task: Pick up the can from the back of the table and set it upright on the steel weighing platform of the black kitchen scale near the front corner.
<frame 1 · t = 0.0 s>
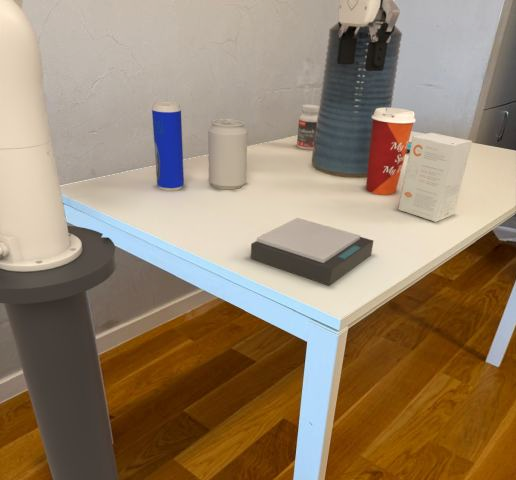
hand: (358, 67, 86), 22 cm above the table, tool pointing down, fingers open, 9 cm apart
beverage can: (170, 188, 99), on the table
small box: (424, 213, 93), on the table
phone stand: (393, 151, 133), on the table
vase: (346, 169, 116), on the table
can: (227, 185, 101), on the table
coffee cup: (380, 191, 103), on the table
scale: (312, 257, 74), on the table
pill bottle: (307, 148, 131), on the table
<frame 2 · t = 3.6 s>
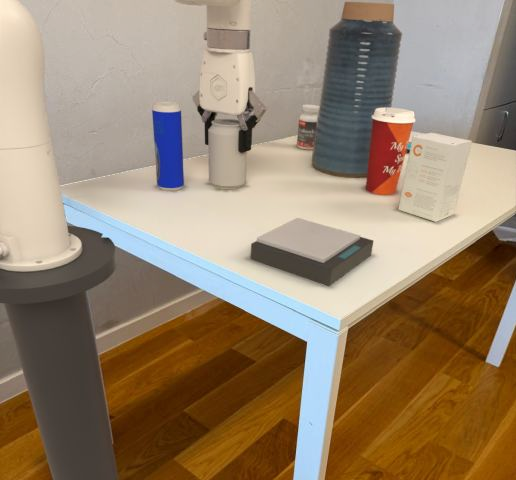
hand: (227, 147, 97), 7 cm above the table, tool pointing down, fingers closed on can, 7 cm apart
can: (227, 185, 101), on the table, touching gripper
everything else where it was.
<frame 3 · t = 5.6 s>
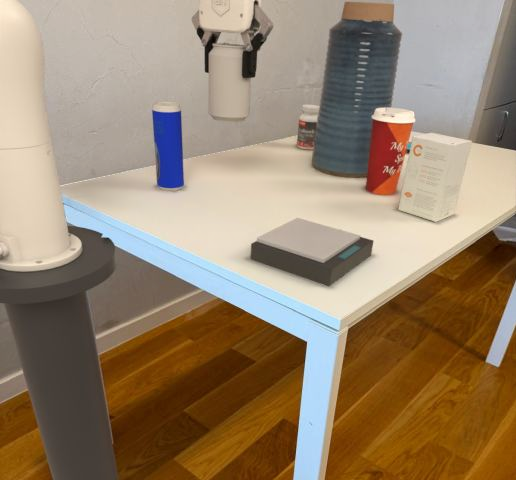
hand: (229, 74, 89), 20 cm above the table, tool pointing down, fingers closed on can, 7 cm apart
can: (228, 120, 93), point 12 cm above the table, touching gripper
everything else where it was.
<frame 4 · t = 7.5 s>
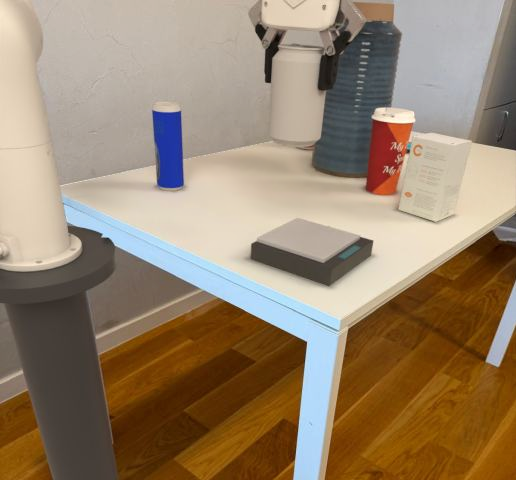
hand: (298, 85, 68), 22 cm above the table, tool pointing down, fingers closed on can, 7 cm apart
can: (293, 143, 72), point 14 cm above the table, touching gripper
everything else where it was.
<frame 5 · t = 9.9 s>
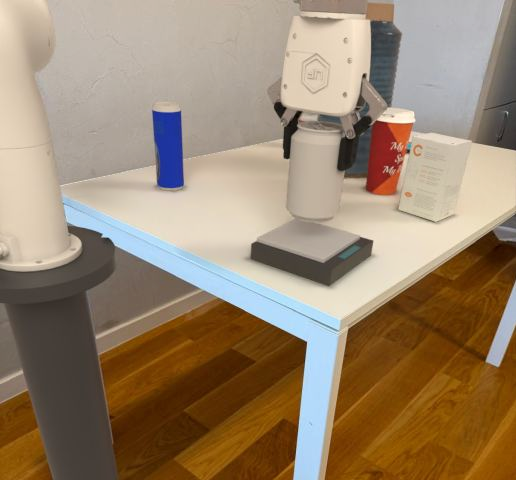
hand: (317, 162, 67), 13 cm above the table, tool pointing down, fingers closed on can, 7 cm apart
can: (311, 216, 71), point 6 cm above the table, touching gripper
everything else where it was.
when the fingers open (10 cm above the table, at t = 11.4 s): can stays where it is, resting on scale.
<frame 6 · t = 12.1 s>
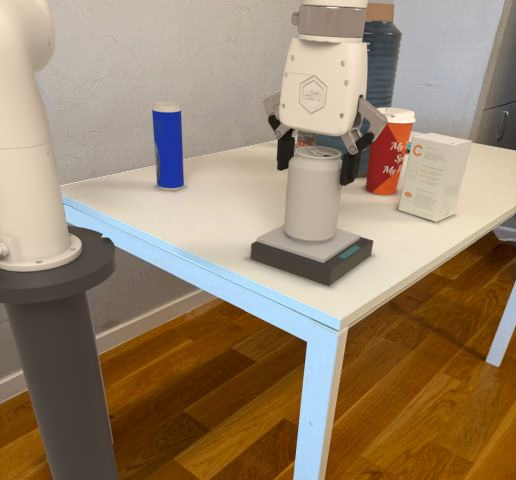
hand: (314, 175, 68), 12 cm above the table, tool pointing down, fingers open, 9 cm apart
can: (308, 237, 73), point 3 cm above the table, touching scale
everything else where it was.
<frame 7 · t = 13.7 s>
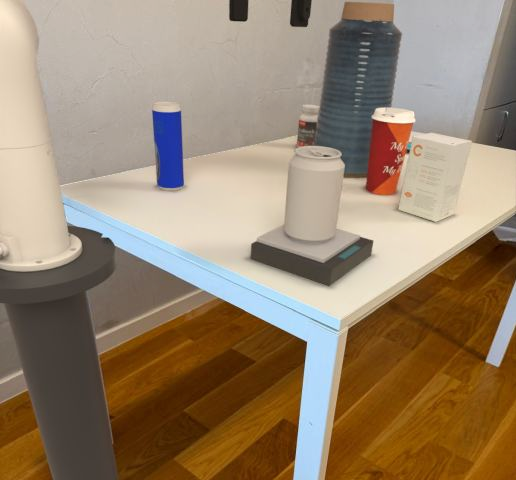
hand: (267, 23, 65), 28 cm above the table, tool pointing down, fingers open, 9 cm apart
nothing on the table moved.
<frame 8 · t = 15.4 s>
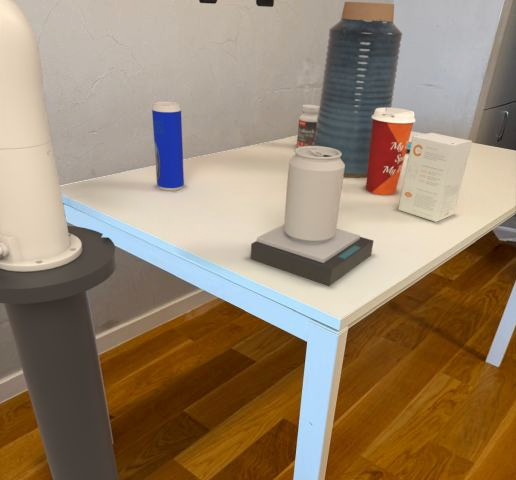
hand: (235, 4, 68), 30 cm above the table, tool pointing down, fingers open, 9 cm apart
nothing on the table moved.
at the end: can inside the target area on the scale (0.4 cm from its centre), point 2.8 cm above the scale's base; can tilted 0°; the gripper is holding nothing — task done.
